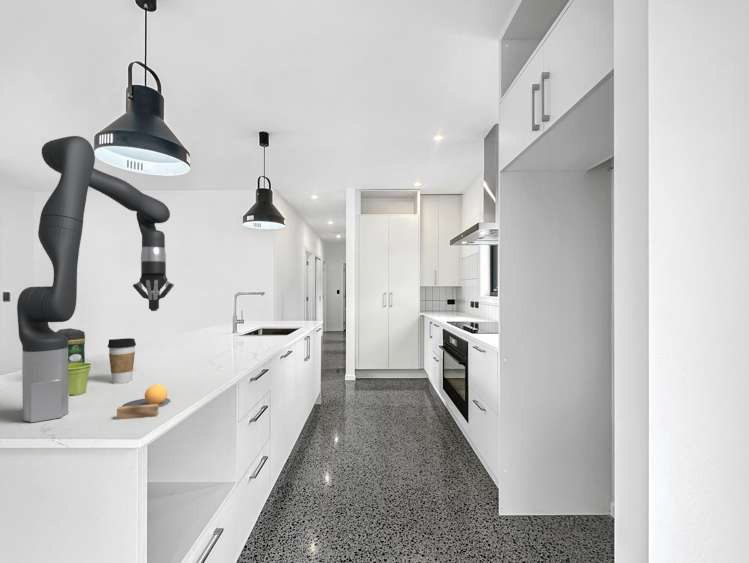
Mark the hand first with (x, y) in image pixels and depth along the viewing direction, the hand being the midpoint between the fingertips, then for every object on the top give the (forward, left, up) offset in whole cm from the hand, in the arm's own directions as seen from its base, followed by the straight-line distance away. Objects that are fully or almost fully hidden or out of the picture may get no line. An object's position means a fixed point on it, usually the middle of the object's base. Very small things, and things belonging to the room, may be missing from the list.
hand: (153, 310), depth 143 cm
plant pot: (0, +22, -25) cm, 33 cm away
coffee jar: (+20, +22, -25) cm, 39 cm away
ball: (-31, +6, -22) cm, 38 cm away
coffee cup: (+8, +8, -25) cm, 27 cm away
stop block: (-39, +11, -24) cm, 48 cm away
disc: (-28, +7, -24) cm, 38 cm away
